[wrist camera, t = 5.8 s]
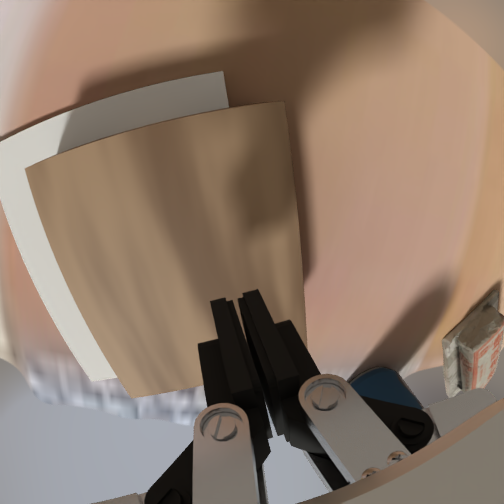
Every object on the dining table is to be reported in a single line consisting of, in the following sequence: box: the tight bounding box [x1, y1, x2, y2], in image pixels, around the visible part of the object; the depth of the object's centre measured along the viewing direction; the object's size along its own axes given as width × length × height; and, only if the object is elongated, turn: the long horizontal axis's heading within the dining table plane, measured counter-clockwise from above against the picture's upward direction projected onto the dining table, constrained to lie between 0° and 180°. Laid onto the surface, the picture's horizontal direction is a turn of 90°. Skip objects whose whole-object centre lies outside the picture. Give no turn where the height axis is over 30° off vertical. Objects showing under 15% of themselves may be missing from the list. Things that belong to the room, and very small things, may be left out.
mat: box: [0, 71, 229, 381], centre depth 17 cm, size 14×18×1 cm
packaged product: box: [442, 290, 504, 398], centre depth 32 cm, size 18×5×10 cm
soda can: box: [349, 367, 425, 410], centre depth 24 cm, size 7×7×12 cm
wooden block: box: [25, 101, 307, 398], centre depth 16 cm, size 4×14×11 cm
